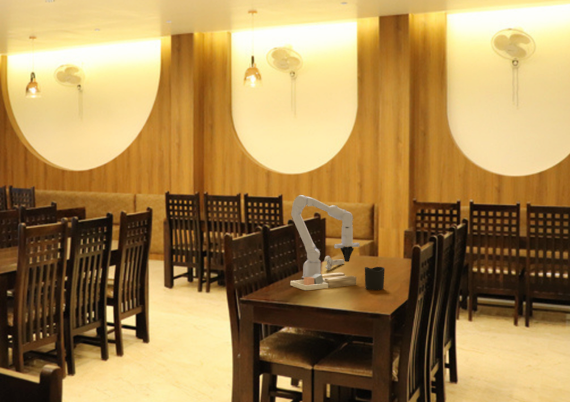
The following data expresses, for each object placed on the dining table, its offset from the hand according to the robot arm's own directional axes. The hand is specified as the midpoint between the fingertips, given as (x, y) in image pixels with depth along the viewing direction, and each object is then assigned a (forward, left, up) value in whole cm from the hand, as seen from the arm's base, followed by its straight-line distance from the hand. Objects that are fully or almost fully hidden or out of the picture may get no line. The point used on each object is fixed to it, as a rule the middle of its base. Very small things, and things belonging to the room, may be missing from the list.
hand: (346, 261), depth 331 cm
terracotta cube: (+7, -25, -7) cm, 27 cm away
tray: (+7, -27, -9) cm, 29 cm away
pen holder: (+26, -2, -10) cm, 28 cm away
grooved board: (+7, -12, -9) cm, 17 cm away
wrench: (-35, +16, -10) cm, 40 cm away
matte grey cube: (+8, -22, -8) cm, 25 cm away
